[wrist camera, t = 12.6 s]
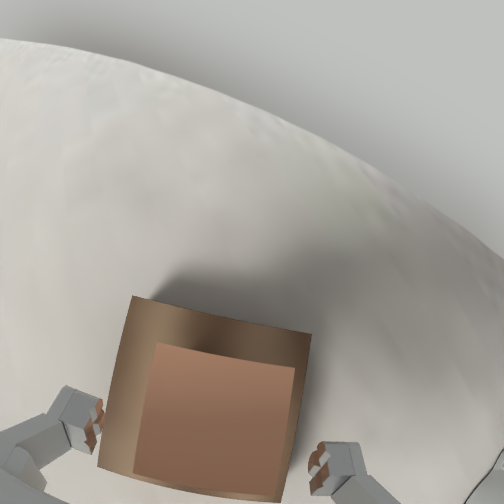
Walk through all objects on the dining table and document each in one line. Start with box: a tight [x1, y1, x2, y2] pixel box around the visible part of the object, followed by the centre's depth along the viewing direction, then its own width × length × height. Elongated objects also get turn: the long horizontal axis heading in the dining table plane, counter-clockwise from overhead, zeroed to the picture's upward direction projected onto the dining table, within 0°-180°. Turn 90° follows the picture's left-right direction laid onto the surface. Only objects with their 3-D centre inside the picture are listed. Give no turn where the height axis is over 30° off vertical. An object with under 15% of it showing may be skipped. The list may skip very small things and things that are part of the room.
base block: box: [97, 295, 312, 503], centre depth 20 cm, size 12×12×4 cm
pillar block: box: [133, 342, 295, 496], centre depth 13 cm, size 4×4×10 cm
